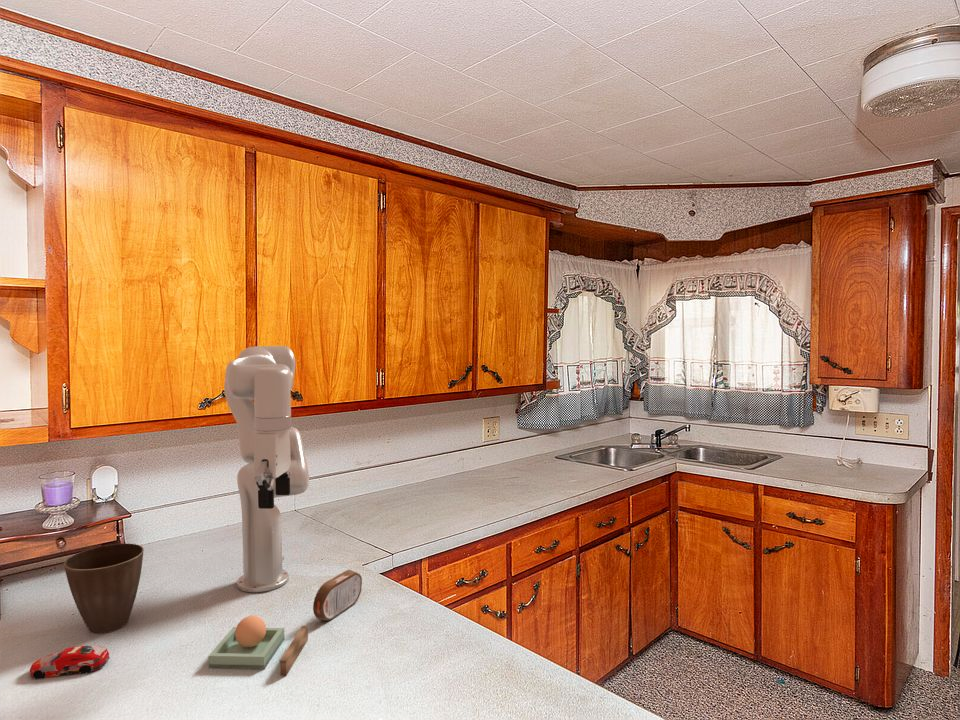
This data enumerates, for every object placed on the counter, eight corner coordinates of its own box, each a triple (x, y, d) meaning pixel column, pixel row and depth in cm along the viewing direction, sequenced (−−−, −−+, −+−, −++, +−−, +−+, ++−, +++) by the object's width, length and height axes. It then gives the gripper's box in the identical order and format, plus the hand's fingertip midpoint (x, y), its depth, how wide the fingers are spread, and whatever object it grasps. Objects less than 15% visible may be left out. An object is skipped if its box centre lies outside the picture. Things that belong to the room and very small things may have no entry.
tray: (233, 638, 128) (233, 627, 128) (284, 639, 127) (284, 627, 127) (208, 668, 117) (208, 655, 117) (264, 669, 117) (263, 656, 116)
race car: (24, 683, 113) (22, 662, 112) (38, 666, 118) (37, 647, 118) (101, 674, 115) (100, 654, 115) (112, 658, 121) (111, 639, 120)
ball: (239, 646, 125) (244, 615, 128) (267, 647, 125) (272, 616, 127) (227, 647, 120) (233, 614, 122) (257, 648, 119) (262, 615, 122)
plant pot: (65, 650, 123) (61, 575, 122) (69, 620, 136) (65, 551, 135) (148, 631, 131) (145, 559, 130) (144, 603, 144) (141, 538, 143)
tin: (354, 597, 147) (353, 563, 147) (364, 599, 146) (364, 566, 145) (312, 625, 134) (311, 588, 133) (323, 628, 132) (322, 591, 132)
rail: (302, 639, 127) (302, 626, 127) (308, 639, 127) (307, 626, 127) (280, 675, 114) (279, 660, 114) (286, 675, 114) (286, 660, 114)
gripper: (271, 417, 139) (272, 490, 140) (238, 431, 122) (241, 513, 123) (303, 417, 139) (304, 490, 140) (275, 431, 121) (277, 514, 123)
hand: (274, 501), depth 131 cm, fingers open, 9 cm apart
